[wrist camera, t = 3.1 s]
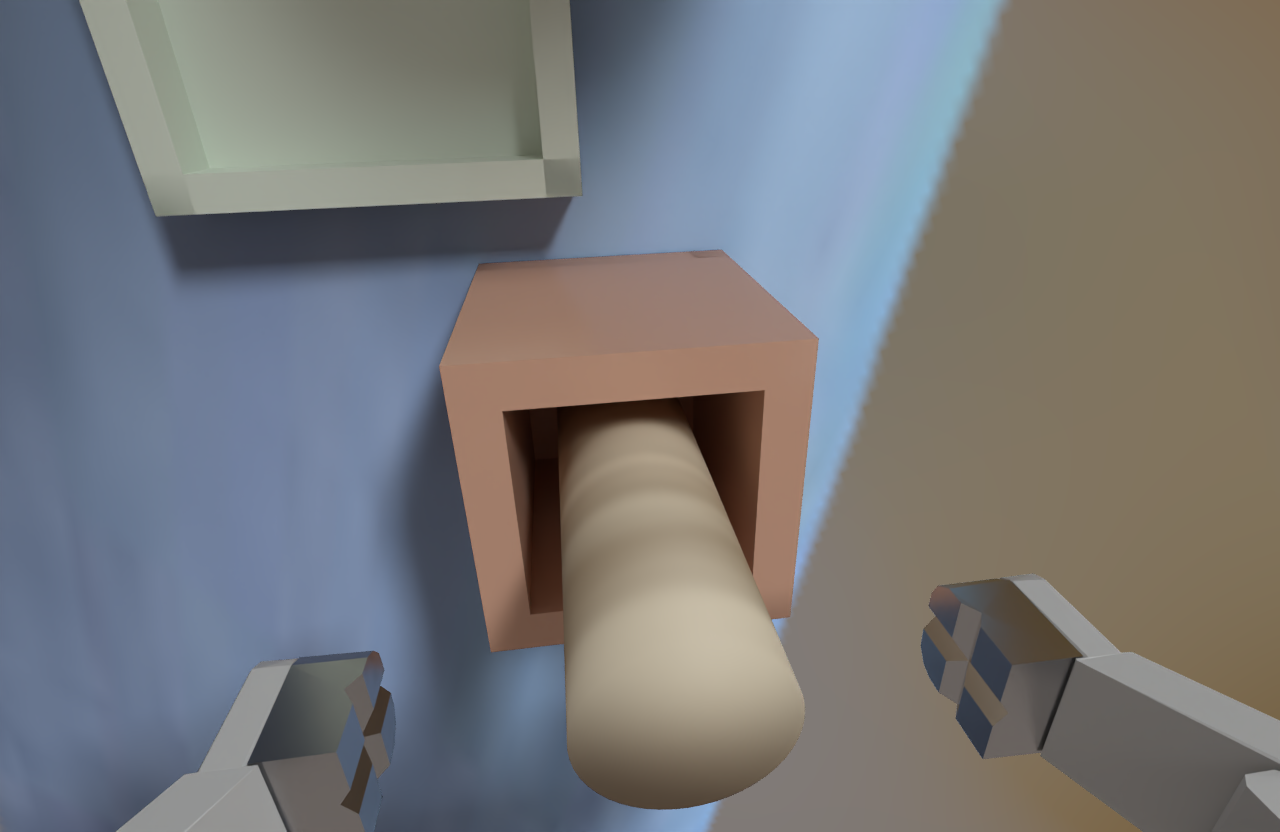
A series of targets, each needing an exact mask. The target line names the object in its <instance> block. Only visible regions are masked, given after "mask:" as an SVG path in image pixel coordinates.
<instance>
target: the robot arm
mask: <svg viewBox="0 0 1280 832" xmlns="http://www.w3.org/2000/svg"><path fill="white" fill-rule="evenodd" d="M929 607H930V609H931V610H932V611H933V612H934V614H935V618H933V619H932V620H931V621H930V623H929V624H928V625H927V626H926V627H925V628H924V629H923V635H922V642H921V650H922V656H923V662H924V666H925V668H926V670H927V673H928V675H929V677H930V679H931V681H932V682H933V684H934V686H935V687H936V689H937V690H938V692H939V693H940V694H942V695H944V696H945V697H947V698H948V699H950V700H952V701H954V702H955V703H957V711H956V719H957V721H958V722H959V724H960V725H961V727H962V728H963V730H964V731H965V733H966V734H967V736H968V738H969V739H970V741H971V742H972V744H973V745H974V747H975V748H976V750H977V751H978V752H979V754H980V756H981V757H982V758H983V759H988V758H997V757H1006V756H1015V755H1024V754H1033V753H1041V757H1043V758H1044V759H1045V760H1047V761H1048V762H1049V763H1051V764H1052V765H1053V766H1055V767H1056V768H1058V769H1059V770H1060V771H1061V772H1063V773H1065V774H1066V775H1067V776H1068V777H1070V778H1071V779H1072V780H1074V781H1075V782H1076V783H1078V784H1079V785H1080V786H1082V787H1083V788H1084V789H1086V790H1087V791H1089V792H1090V793H1091V794H1093V795H1094V796H1095V797H1097V798H1098V799H1099V800H1101V801H1102V802H1103V803H1105V804H1106V805H1108V806H1109V807H1110V808H1112V809H1113V810H1114V811H1116V812H1117V813H1118V814H1120V815H1121V816H1122V817H1124V818H1125V819H1126V820H1128V821H1129V822H1130V823H1132V824H1133V825H1135V826H1136V827H1137V828H1139V829H1140V830H1141V831H1143V832H1280V721H1279V720H1277V719H1275V718H1272V717H1271V716H1268V715H1266V714H1264V713H1262V712H1260V711H1258V710H1255V709H1253V708H1251V707H1249V706H1247V705H1245V704H1243V703H1240V702H1238V701H1236V700H1234V699H1232V698H1230V697H1227V696H1225V695H1223V694H1221V693H1219V692H1217V691H1215V690H1212V689H1210V688H1208V687H1206V686H1204V685H1201V684H1199V683H1197V682H1195V681H1193V680H1191V679H1189V678H1186V677H1184V676H1182V675H1180V674H1178V673H1176V672H1174V671H1171V670H1169V669H1167V668H1165V667H1163V666H1161V665H1158V664H1156V663H1154V662H1152V661H1150V660H1147V659H1146V658H1143V657H1141V656H1139V655H1137V654H1135V653H1133V652H1126V653H1121V652H1120V651H1118V650H1117V648H1115V646H1114V645H1112V644H1111V643H1110V642H1109V641H1108V640H1107V639H1106V638H1105V637H1104V636H1103V635H1102V634H1101V633H1100V632H1099V631H1098V630H1097V629H1096V628H1095V627H1094V626H1093V625H1092V624H1091V623H1090V622H1088V620H1086V619H1085V618H1084V617H1083V616H1082V615H1081V614H1080V613H1079V612H1078V611H1077V610H1076V609H1075V608H1074V607H1073V606H1072V605H1071V604H1070V603H1069V602H1068V601H1067V600H1066V599H1065V598H1064V597H1063V596H1062V595H1061V594H1060V593H1058V592H1057V591H1056V590H1055V589H1054V588H1053V587H1052V586H1051V585H1050V584H1049V583H1048V582H1047V581H1046V580H1045V579H1043V578H1042V577H1040V576H1037V575H1035V574H1026V575H1018V576H1011V577H1003V578H1000V579H989V580H980V581H972V582H964V583H956V584H949V585H940V586H937V588H936V589H935V590H934V591H933V592H932V594H931V598H930V602H929ZM383 674H384V667H383V664H382V661H381V658H380V655H379V653H378V652H375V651H366V652H354V653H343V654H332V655H321V656H310V657H299V658H298V659H286V660H275V661H263V662H260V663H259V664H258V665H257V666H255V667H254V668H253V669H252V670H251V671H250V673H249V675H248V677H247V679H246V681H245V682H244V684H243V686H242V688H241V690H240V692H239V694H238V696H237V698H236V700H235V702H234V703H233V705H232V707H231V709H230V711H229V713H228V715H227V717H226V719H225V721H224V723H223V724H222V726H221V728H220V730H219V732H218V734H217V736H216V738H215V740H214V742H213V744H212V745H211V747H210V749H209V751H208V753H207V755H206V757H205V759H204V761H203V763H202V765H201V766H200V768H199V770H198V772H197V773H190V774H184V775H183V776H182V777H181V778H180V779H178V780H177V781H176V782H175V783H174V784H172V785H171V786H170V787H169V788H168V789H166V790H165V791H164V792H163V793H162V794H160V795H159V796H158V797H157V798H156V799H154V800H153V801H152V802H151V803H150V804H148V805H147V806H146V807H145V808H144V809H142V810H141V811H140V812H139V813H138V814H136V815H135V816H134V817H133V818H132V819H130V820H129V821H128V822H127V823H126V824H124V825H123V826H122V827H121V828H120V829H118V830H117V831H116V832H374V830H375V826H376V822H377V818H378V814H379V810H380V806H381V801H382V797H383V796H382V793H381V789H380V786H379V783H378V780H377V779H378V778H379V777H380V775H381V774H382V773H383V772H384V771H385V770H386V769H387V768H388V767H389V766H390V763H391V759H392V754H393V750H394V745H395V730H396V717H395V708H394V703H393V699H392V695H391V693H390V692H389V691H387V690H386V689H384V688H383V687H381V686H380V684H381V681H382V677H383Z"/></svg>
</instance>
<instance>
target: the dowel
mask: <svg viewBox="0 0 1280 832" xmlns="http://www.w3.org/2000/svg"><path fill="white" fill-rule="evenodd" d="M557 424H558V458H559V491H560V524H561V557H562V590H563V624H564V657H565V690H566V723H567V751H568V755H569V760H570V762H571V764H572V767H573V769H574V770H575V772H576V773H577V775H578V776H579V778H580V779H581V780H582V781H583V782H584V783H585V784H586V785H587V786H588V787H590V788H591V789H592V790H594V791H595V792H596V793H598V794H600V795H602V796H604V797H605V798H607V799H610V800H612V801H615V802H618V803H621V804H624V805H628V806H632V807H638V808H644V809H658V810H661V809H680V808H689V807H694V806H700V805H704V804H708V803H712V802H715V801H718V800H721V799H724V798H727V797H729V796H732V795H734V794H736V793H738V792H740V791H743V790H744V789H746V788H748V787H750V786H752V785H753V784H755V783H756V782H758V781H760V780H761V779H763V778H764V777H765V776H767V775H768V774H769V773H770V772H772V771H773V770H774V769H775V768H776V767H777V766H778V765H779V764H780V763H781V762H782V761H783V760H784V759H785V758H786V757H787V755H788V754H789V752H790V751H791V750H792V749H793V747H794V745H795V744H796V742H797V740H798V738H799V735H800V733H801V731H802V728H803V724H804V719H805V704H804V698H803V695H802V692H801V689H800V687H799V685H798V682H797V680H796V677H795V675H794V673H793V670H792V668H791V666H790V663H789V661H788V658H787V656H786V654H785V651H784V649H783V646H782V644H781V642H780V639H779V637H778V635H777V632H776V630H775V627H774V625H773V623H772V620H771V618H770V615H769V613H768V611H767V608H766V606H765V604H764V601H763V599H762V596H761V594H760V592H759V589H758V587H757V585H756V582H755V580H754V577H753V575H752V573H751V570H750V568H749V566H748V563H747V561H746V558H745V556H744V554H743V551H742V549H741V546H740V544H739V542H738V539H737V537H736V535H735V532H734V530H733V527H732V525H731V523H730V520H729V518H728V516H727V513H726V511H725V508H724V506H723V504H722V501H721V499H720V497H719V494H718V492H717V489H716V487H715V485H714V482H713V480H712V478H711V475H710V473H709V470H708V468H707V466H706V463H705V461H704V458H703V456H702V454H701V451H700V449H699V447H698V444H697V442H696V439H695V437H694V435H693V432H692V430H691V428H690V425H689V423H688V420H687V418H686V416H685V413H684V411H683V409H682V406H681V404H680V401H679V399H678V397H673V398H661V399H649V400H636V401H624V402H611V403H599V404H587V405H574V406H562V407H557Z"/></svg>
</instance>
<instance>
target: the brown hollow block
mask: <svg viewBox="0 0 1280 832" xmlns="http://www.w3.org/2000/svg"><path fill="white" fill-rule="evenodd" d="M818 340H819V338H817V337H816V336H815V335H814V334H813V333H812V332H811V331H810V330H809V329H808V328H807V327H805V326H804V325H803V324H802V323H801V322H800V321H799V320H798V319H797V318H796V317H795V316H793V315H792V314H791V313H790V312H789V311H788V310H787V309H786V308H785V307H784V306H783V305H781V304H780V303H779V302H778V301H777V300H776V299H775V298H774V297H773V296H772V295H771V294H769V293H768V292H767V291H766V290H765V289H764V288H763V287H762V286H761V285H760V284H759V283H757V282H756V281H755V280H754V279H753V278H752V277H751V276H750V275H749V274H748V273H747V272H745V271H744V270H743V269H742V268H741V267H740V266H739V265H738V264H737V263H736V262H735V261H733V260H732V259H731V258H730V257H729V256H728V255H727V254H726V253H725V252H724V251H723V250H708V251H691V252H674V253H656V254H639V255H622V256H604V257H587V258H569V259H552V260H535V261H517V262H500V263H483V264H479V265H478V268H477V270H476V273H475V275H474V278H473V281H472V283H471V286H470V288H469V291H468V293H467V296H466V299H465V301H464V304H463V306H462V309H461V311H460V314H459V317H458V319H457V322H456V324H455V327H454V329H453V332H452V335H451V337H450V340H449V342H448V345H447V347H446V350H445V353H444V355H443V358H442V360H441V363H440V365H439V368H440V374H441V379H442V385H443V390H444V396H445V401H446V407H447V412H448V418H449V423H450V429H451V434H452V440H453V445H454V451H455V456H456V462H457V467H458V473H459V478H460V484H461V489H462V495H463V500H464V506H465V511H466V517H467V522H468V528H469V533H470V539H471V544H472V550H473V556H474V561H475V567H476V572H477V578H478V583H479V589H480V594H481V600H482V605H483V611H484V616H485V622H486V627H487V633H488V638H489V644H490V649H491V652H498V651H506V650H515V649H523V648H532V647H540V646H549V645H557V644H564V624H563V590H562V557H561V524H560V491H559V458H558V424H557V407H562V406H574V405H587V404H599V403H611V402H624V401H636V400H649V399H661V398H673V397H678V399H679V401H680V404H681V406H682V409H683V411H684V413H685V416H686V418H687V420H688V423H689V425H690V428H691V430H692V432H693V435H694V437H695V439H696V442H697V444H698V447H699V449H700V451H701V454H702V456H703V458H704V461H705V463H706V466H707V468H708V470H709V473H710V475H711V478H712V480H713V482H714V485H715V487H716V489H717V492H718V494H719V497H720V499H721V501H722V504H723V506H724V508H725V511H726V513H727V516H728V518H729V520H730V523H731V525H732V527H733V530H734V532H735V535H736V537H737V539H738V542H739V544H740V546H741V549H742V551H743V554H744V556H745V558H746V561H747V563H748V566H749V568H750V570H751V573H752V575H753V577H754V580H755V582H756V585H757V587H758V589H759V592H760V594H761V596H762V599H763V601H764V604H765V606H766V608H767V611H768V613H769V615H770V618H771V619H779V618H787V617H790V613H791V604H792V594H793V584H794V574H795V565H796V555H797V545H798V535H799V526H800V516H801V506H802V496H803V487H804V477H805V467H806V457H807V448H808V438H809V428H810V418H811V409H812V399H813V389H814V379H815V370H816V360H817V350H818Z"/></svg>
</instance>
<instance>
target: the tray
mask: <svg viewBox="0 0 1280 832" xmlns="http://www.w3.org/2000/svg"><path fill="white" fill-rule="evenodd" d="M79 1H80V4H81V7H82V10H83V12H84V15H85V18H86V21H87V24H88V27H89V29H90V32H91V35H92V38H93V41H94V43H95V46H96V49H97V52H98V55H99V58H100V60H101V63H102V66H103V69H104V72H105V74H106V77H107V80H108V83H109V86H110V89H111V91H112V94H113V97H114V100H115V103H116V105H117V108H118V111H119V114H120V117H121V120H122V122H123V125H124V128H125V131H126V134H127V136H128V139H129V142H130V145H131V148H132V150H133V153H134V156H135V159H136V162H137V165H138V167H139V170H140V173H141V176H142V179H143V181H144V184H145V187H146V190H147V193H148V196H149V198H150V201H151V204H152V207H153V210H154V212H155V215H156V216H175V215H196V214H217V213H238V212H259V211H280V210H300V209H321V208H342V207H363V206H384V205H405V204H426V203H446V202H467V201H488V200H509V199H530V198H551V197H571V196H582V183H581V168H580V153H579V137H578V122H577V106H576V91H575V76H574V60H573V45H572V30H571V14H570V0H79Z"/></svg>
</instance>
